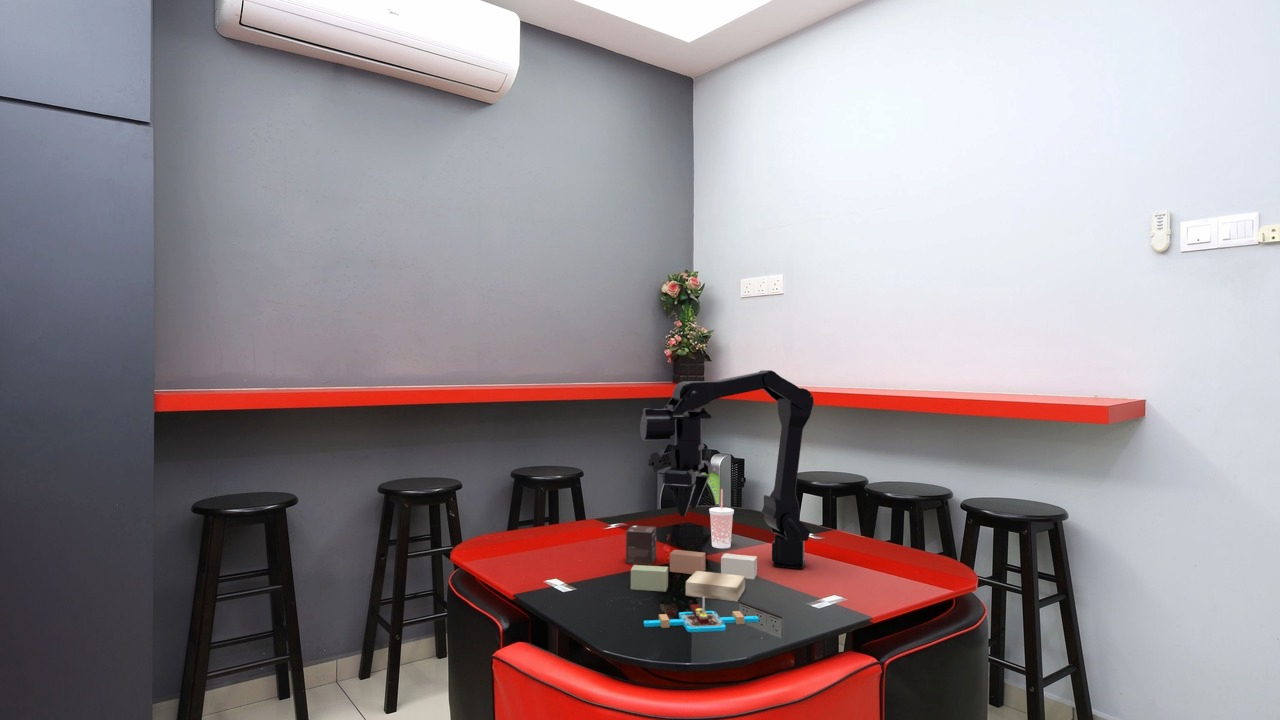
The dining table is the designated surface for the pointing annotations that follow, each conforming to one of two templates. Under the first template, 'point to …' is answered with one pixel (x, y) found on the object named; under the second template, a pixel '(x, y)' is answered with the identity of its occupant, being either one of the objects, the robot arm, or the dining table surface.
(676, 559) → the terracotta brick
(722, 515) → the beverage cup
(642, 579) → the olive brick
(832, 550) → the dining table surface
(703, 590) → the beech slab
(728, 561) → the cream brick
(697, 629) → the gear mechanism
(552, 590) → the dining table surface
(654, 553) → the box
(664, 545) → the dining table surface
